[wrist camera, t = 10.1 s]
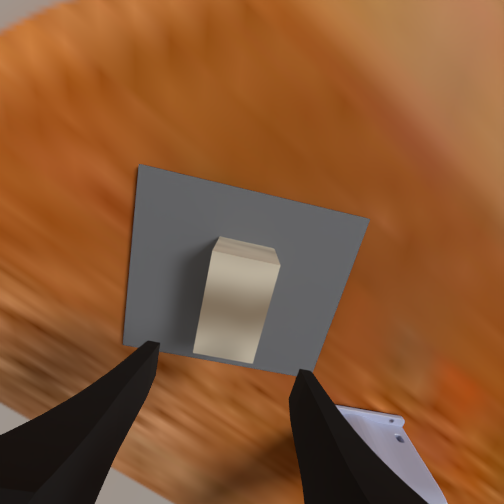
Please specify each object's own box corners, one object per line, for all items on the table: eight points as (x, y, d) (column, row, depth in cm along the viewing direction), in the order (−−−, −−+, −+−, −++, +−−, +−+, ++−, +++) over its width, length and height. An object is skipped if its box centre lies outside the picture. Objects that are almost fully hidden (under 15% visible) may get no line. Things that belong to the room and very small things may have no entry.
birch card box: (252, 331, 22) (252, 363, 18) (202, 321, 21) (192, 352, 17) (274, 248, 19) (280, 265, 16) (219, 236, 19) (212, 250, 15)
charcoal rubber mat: (366, 218, 19) (370, 219, 19) (308, 373, 24) (310, 378, 23) (142, 164, 18) (138, 164, 17) (126, 340, 22) (122, 344, 22)
